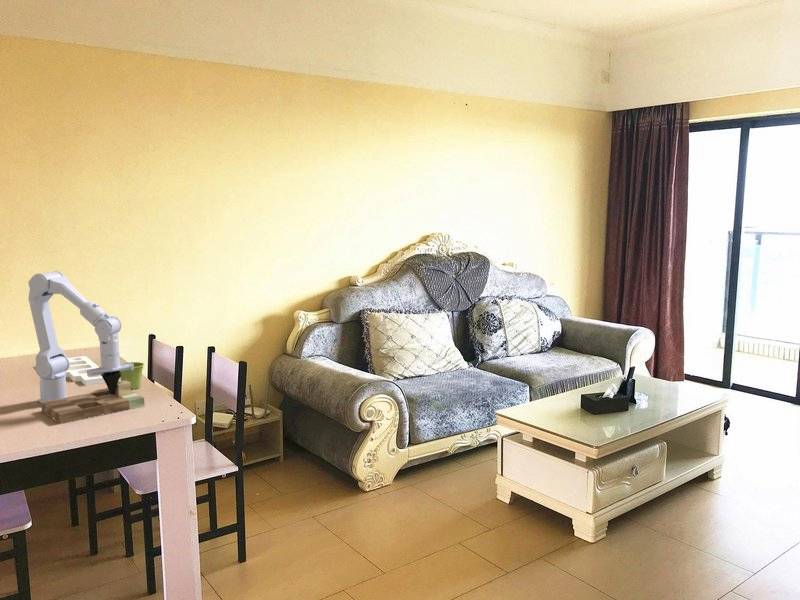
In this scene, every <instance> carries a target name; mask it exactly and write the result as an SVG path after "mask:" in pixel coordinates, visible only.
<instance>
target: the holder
mask: <svg viewBox="0 0 800 600" xmlns="http://www.w3.org/2000/svg"><path fill="white" fill-rule="evenodd" d="M67 358H68V360H69V363H70V365H69V368H68V370H67V371H66V374H65V377H66V379H67V378H69V379H70V380H72V381H73V383H77V382H80V383H82V384H83V385H84V387H86V386H87V387H89V386H95V385H102V383H103V384H106V383H105V381H104V379H103V378H102V376H101V375H95V376H92V377H88V376H87V370H91V369H95V368H99V367H100V366H99V365H97V364H96V363H95V362H94V361H92V360H91V359H90V358H89V357H87V356H86V355H83V356H82V355H81V356H74V357H67Z"/></svg>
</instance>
